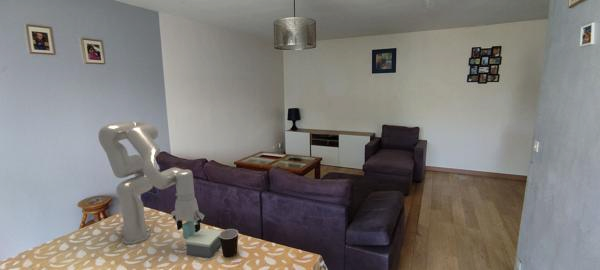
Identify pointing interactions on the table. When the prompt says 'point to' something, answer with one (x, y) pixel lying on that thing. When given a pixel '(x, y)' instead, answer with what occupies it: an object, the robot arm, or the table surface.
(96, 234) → the table surface
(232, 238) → the coffee mug
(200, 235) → the board with teal handle
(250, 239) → the table surface
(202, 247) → the tub
